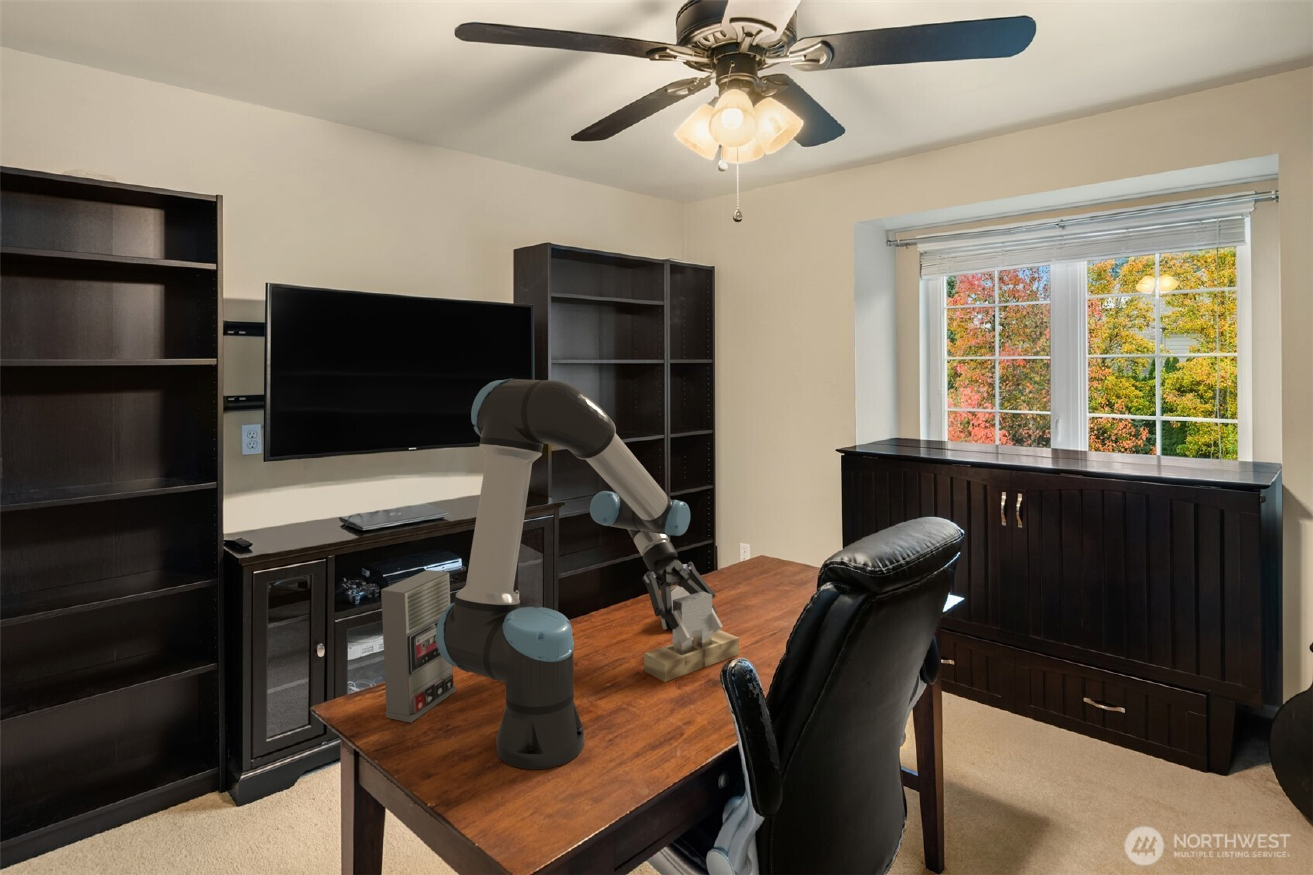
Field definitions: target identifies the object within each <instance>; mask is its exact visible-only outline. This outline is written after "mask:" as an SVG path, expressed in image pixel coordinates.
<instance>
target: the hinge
mask: <svg viewBox="0 0 1313 875" xmlns="http://www.w3.org/2000/svg"><path fill="white" fill-rule="evenodd" d="M688 595H690V594H689V593H688V592H687V591H686V590H685V589H684V588H683V587H679V586H678V585H675V586H674V587H672V588H671V599H672V613H673V600H674V599H678V598H681V597H685V596H688ZM659 617H660V620H661V626H662V629H663V630H667V629H669V628H670V629H671V627H670V625H669V624H668V622H667V620H666V618H665V619H662V618H661V616H659Z"/></svg>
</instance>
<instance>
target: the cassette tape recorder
mask: <svg viewBox="0 0 1313 875" xmlns="http://www.w3.org/2000/svg"><path fill="white" fill-rule="evenodd" d="M450 582H451V581H450V572H449V571H440V570H433V569H432V570H431V569H427V570H424V571H422V572H419V573H417V574H414V575H413V576H410V577H408V578H405V579H403V580H401V581H398V582H396V583H393V584H391V585H389V586H387V587H384V588H382V589H380V593H381V614H382V616H381V620H382V638H383V658H384V659H383V663H384V683H385V688H384V689H385V705H386V708H385V710H386V711H385V718H387V719H391V720H396V721H401V722H405V723H409V722H410V723H414V722H415V721H416V720H417V719H418V718H420V717H422V716H423V715H425V713H427V712H428V711H430V710H431V709H433V708H434V707H436V706H437V705H438V704H440V703H441V702H442V701H444V700H445V699H447V698H448V697H449V696H451V695H453V694H454V693H455V692H457V685H456V684H454V674H453V672H454V671H453V670H454V669H453V665H451V664H449V663H448V662H446V661H445V660H444V658H443V657H442V656H441V654H440V652H439V650H438V647H437V643H436V629H437V624H438V621H439V619H440V617H441V615H442V614H444V613H445V609H446V608H447V607H448V606H449V605H451V589H450V588H451V585H450V584H451V583H450ZM413 721H414V722H413ZM410 723H409V724H410Z"/></svg>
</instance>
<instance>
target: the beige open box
mask: <svg viewBox="0 0 1313 875" xmlns="http://www.w3.org/2000/svg"><path fill="white" fill-rule="evenodd" d="M739 653H740V637H738V636H736V635H733V634H731V633H728V632H726V631H724V630H721V629H720V630H719V631H718V632H717V633H714V632H713V630H712V645H710V646H707V647H704V648H701V647H698V646H696V645H694V644H693V636H692V652H690V653H687V654H684V655H680V654H678V653H676V652H674V651H673V643H672V644H668V645H665V646H662V647H659V648H656V649H653V650H649V651H646V652H644V653H643V659H644V660H643V661H644V662H643V664H644V665H643V670H644V671H643V672H645V673H647V674H649V675H651V676H653V677H655V678H656V679H659V680H661V681H662V682H664V683H666V682H668V681H672V680H674V679H677V678H679V677H682V676H685V675H688V674H691V673H693V672H695V671H698V670H701V669H704V668H706V667H709V666H712V665H715V664H717V663H720V662H723V661H726V660H728V659H731V658H733V657H736V656H739Z"/></svg>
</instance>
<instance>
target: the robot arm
mask: <svg viewBox="0 0 1313 875" xmlns="http://www.w3.org/2000/svg"><path fill="white" fill-rule="evenodd" d="M470 412H471V413H470V414H471V416H470V417H471V423H472V425H474V426H473V429H474V431H475V432H476V434H477V435H478V436H480V441H479V448H480V450H481V451H482V452H483V453H484V455H485V461H484V468H483V469H484V470H483V475H482V482H481V487H480V494H479V500H478V506H477V513H476V518H475V524H474V532H473V536H472V537H473V538H472V544H471V550H470V557H469V564H468V570H467V571H468V572H467V577H466V581H465V582H466V583H465V586H464V587H462V588H461V589H460V590H459V591H458V592H456V593H455V597H454V602H453V603H450V605H449V606H448V607H447V608H446V609H445V613H444V614H442V615H441V617H440V619H439V621H438V624H437V629H436V643H437V647H438V650H439V652H440V654H441V656H442V657H443V658H444V660H445V661H446V662H448V663H449V664H451V665H452V667H453V666H454V667H455V668H456V669H457V668H458V669H459V670H460V671H463V672H465V673H466V672H467V673H473V674H476V675H480V676H482V677H485V678H488V679H492V680H495V681H498V682H501V683H504V685H505V708H504V712H503V715H502V718H501V721H500V726H499V728H498V731H497V735H496V740H495V741H496V753H497V756H498V758H499V759H500V760H501V761H502V762H503V763H505V764H507V765H509V766H511V767H514V768H517V769H522V770H523V769H524V770H544V769H550V768H551V769H552V768H555V767H558V766H562V765H564V764H566V763H568V762H570V761H572V760H573V759H575V758H577V756H579V755H580V754H581V752H582V751H583V749H584V747H585V729H584V726H583V723H582V719H581V717H580V715H579V712H578V709H577V707H576V704H575V701H574V699H575V698H574V696H575V695H574V650H575V649H574V648H575V644H574V638H573V636H574V635H573V628H572V624H571V621H570V620H569V619H568V617H566V615H564V614H563V613H561V612H559V611H557V610H554V609H552V608H549V607H548V608H547V607H543V606H540V607H535V606H525V607H520V603H521V600H520V598H519V597H518V596H517V594H516V593H515V592H514V591H515V590H514V587H515V586H514V585H515V581H516V574H517V566H518V561H519V554H520V547H521V541H522V534H523V526H524V520H525V515H526V514H525V513H526V508H527V500H528V493H529V487H530V486H529V485H530V481H531V475H532V467H533V466H532V465H533V463H534V462H535V461H536V460H538V459H539V458H540V457H542V455H543V449H544V444H545V445H555V446H558V447H561V448H564V449H566V450H568V451H570V452H571V453H572V455H573V456H575V457H576V458H578V459H580V460H585V461H587V463H588V464H589V465H590V466H591V467H592V468H593V469H594V470H595V471H596V472H597V474H598V475H599V476H601V477H600V478H602V479H603V480H604V481H605V482H606V483H607V484H608V486H610V487H611V488H612V490H613V491H608V490H602V491H600V492H598V493H596V494H595V495H594V496H593V498H592V499H591V501H590V505H589V513H590V517H591V518H592V520H593V521H594V522H595V523H597V524H600V525H602V526H603V527H604V526H605V527H606V526H607V527H608V526H609V527H614V528H619V529H625V530H627V531H628V533H629V535H630V537H631V538H632V540H633V542H634V544H635V546H636V548H637V550H638V551H639V553H640V555H641V556H642V560H643V562H644V563H645V565H646V568H647V569H648V570H649V571H647V572H646V573H645V574H644V576H643V577H642V582H643V583H644V584H645V586H646V588H647V591H648V595H649V599H650V602H651V606H652V609H653V612H654V616H655V617H660V616H661V617H660V619H661V618H662V619H665V618H666V620H667V622H668V624H669V625H670V629H671V630H672V631H673V629H674V630H675V632H676V634H677V636H678V638H679V640H680V642H681V644H684V643H685V642H686V641H687V640H688V639H689V638H690V636H689V634H688V632H687V630H686V628H685V626H684V624H683V623H682V621H681V619H680V617H679V615H678V613H677V611H674V612H673V613H672V599H671V589H672V588H671V586H673V585H674V586H679V587H683V588H684V589H685V590H686V591H687V592H688V593H689V594H690V595H692V594H695V593H699V592H706V593H709V594H712V600H713V599H714V597H715V596H716V593H715V592H714V590H713V589H712V588H711V587H710V586H709V584H708V583H707V582H706V581H705V579H704V578H703V577H702V576H701V574H700V573H699V572H698V571H697V569H696V567H695V565H694V563H693V562H692V561H689V562H688V563H685V564H683V563H682V562H681V561H680V560H679V558H678V552H677V551H676V549H675V547H674V545H673V543H672V542H670V538H669V537H668V536H676V537H677V536H678V537H680V536H682V535H684V534H685V533H686V532H687V530H688V528H689V525H690V522H691V511H690V508H689V504H687V503H686V502H684V501H681V500H677V499H671V498H670V497H669V496H668V495H667V494H666V493H665V491H664V489H662V488H661V486H660V485H659V484H658V482H656V480H655V479H654V478H653V476H651V474H650V473H649V472H648V471H647V470H646V468H645V467H644V465H642V464H641V462H640V461H639V460H638V459H637V457H636V456H635V455H634V454H633V452H632V451H631V450H630V449H629V448H628V447H627V445H626V444H625V443H624V441H623V440H622V439H621V438H620V436H618V434H617V433H616V430H617V429H616V425H615V423H614V421H613V420H612V419H611V418H610V416H609V415H608V414H607V413H606V412H605V410H604V409H603V408H602V407H601V406H600V405H599V404H597V403H596V402H595V401H594V400H592V398H590V397H589V396H588V395H586V394H585V393H584V392H582V391H581V390H580V389H577V388H576V387H575V386H572V385H571V384H568V383H566V382H563V381H560V380H559V381H558V380H555V379H553V380H550V379H547V380H539V379H522V378H521V379H519V378H508V379H507V378H506V379H503V380H501V379H500V380H494V381H491V382H489V383H488V384H486V385H485V386H483V387H482V388H481V389H480V390H479V391H478V393H477V395H476V396H475V398H474V401H473V403H472V407H471V411H470ZM657 581H658V582H659V585H658V583H657ZM717 614H718V611H717V609H716V607H715V606H714V604H713V603H712V631H713V632H714V633H717V632H718V631H719V630H721V629H722V628H723V626H724V625H723V624H722V622H721V620H720V619H719V617H718V616H717Z"/></svg>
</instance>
